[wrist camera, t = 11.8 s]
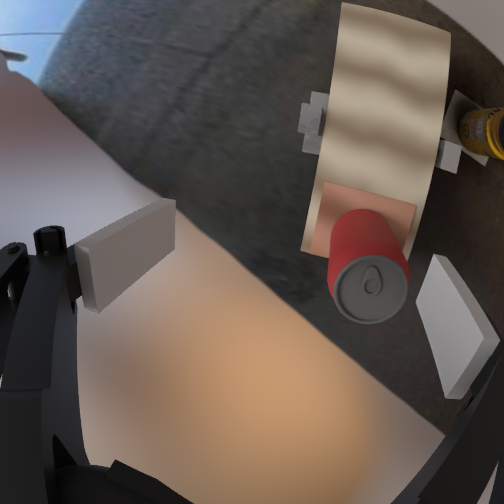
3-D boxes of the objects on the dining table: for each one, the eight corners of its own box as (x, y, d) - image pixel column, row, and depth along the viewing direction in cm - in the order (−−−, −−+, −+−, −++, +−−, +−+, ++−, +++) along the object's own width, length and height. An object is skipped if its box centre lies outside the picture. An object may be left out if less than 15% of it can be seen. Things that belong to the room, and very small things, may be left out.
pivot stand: (312, 92, 35) (305, 79, 26) (437, 125, 32) (465, 123, 23) (302, 151, 38) (293, 155, 30) (426, 182, 35) (450, 196, 26)
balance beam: (340, 8, 24) (340, 1, 22) (446, 38, 22) (452, 33, 20) (301, 244, 36) (299, 251, 34) (400, 268, 33) (403, 276, 31)
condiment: (484, 166, 32) (529, 180, 21) (437, 134, 32) (474, 136, 22) (500, 122, 28) (548, 124, 18) (454, 89, 29) (494, 76, 18)
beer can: (390, 206, 29) (419, 247, 18) (390, 265, 31) (410, 328, 21) (328, 208, 31) (324, 250, 20) (331, 267, 33) (326, 331, 22)
